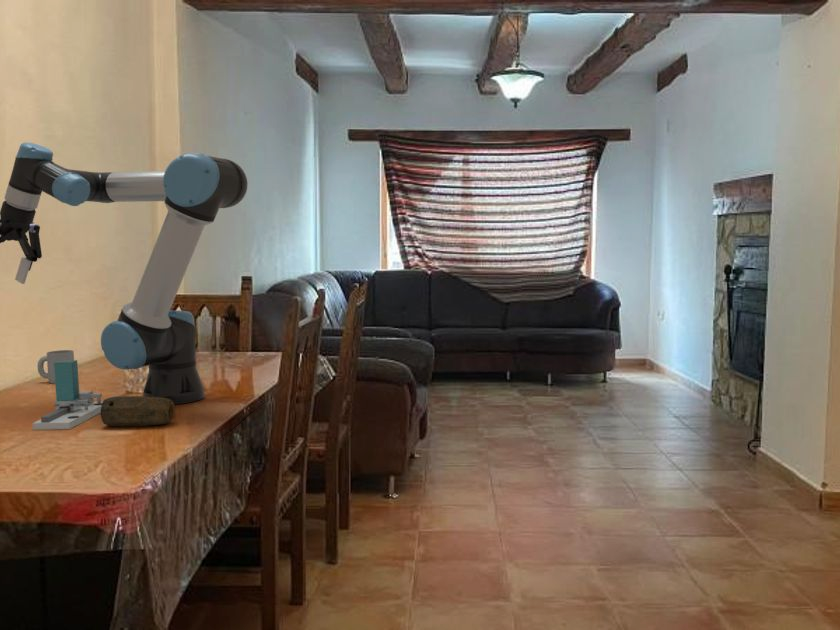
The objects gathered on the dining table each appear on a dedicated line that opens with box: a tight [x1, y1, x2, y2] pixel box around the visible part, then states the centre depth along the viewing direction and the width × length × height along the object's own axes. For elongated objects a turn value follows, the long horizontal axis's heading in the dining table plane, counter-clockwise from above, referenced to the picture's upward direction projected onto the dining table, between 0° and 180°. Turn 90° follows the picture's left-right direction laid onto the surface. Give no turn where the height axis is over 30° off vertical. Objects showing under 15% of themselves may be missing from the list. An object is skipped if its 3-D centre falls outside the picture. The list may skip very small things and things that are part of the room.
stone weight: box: [100, 395, 175, 427], centre depth 171 cm, size 15×7×7 cm, turn 97°
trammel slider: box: [54, 359, 89, 411], centre depth 179 cm, size 7×4×11 cm, turn 90°
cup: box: [37, 349, 75, 385], centre depth 228 cm, size 7×10×9 cm
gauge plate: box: [31, 390, 103, 431], centre depth 179 cm, size 8×22×4 cm, turn 0°
